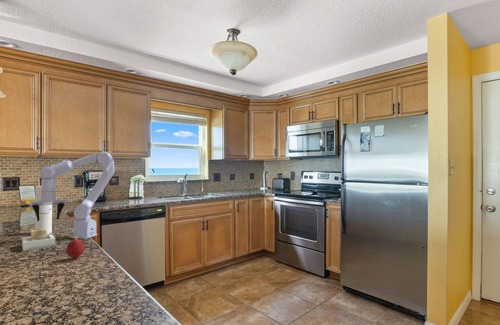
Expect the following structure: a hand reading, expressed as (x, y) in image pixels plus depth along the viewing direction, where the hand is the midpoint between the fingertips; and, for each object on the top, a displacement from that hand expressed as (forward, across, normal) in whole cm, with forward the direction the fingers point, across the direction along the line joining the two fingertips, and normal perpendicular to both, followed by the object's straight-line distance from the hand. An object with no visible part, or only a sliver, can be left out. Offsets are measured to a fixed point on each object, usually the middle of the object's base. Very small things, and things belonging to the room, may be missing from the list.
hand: (48, 219), depth 134 cm
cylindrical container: (+10, 0, -17) cm, 20 cm away
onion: (+10, -5, +43) cm, 44 cm away
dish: (+9, +4, +12) cm, 16 cm away
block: (+8, +4, +12) cm, 15 cm away
